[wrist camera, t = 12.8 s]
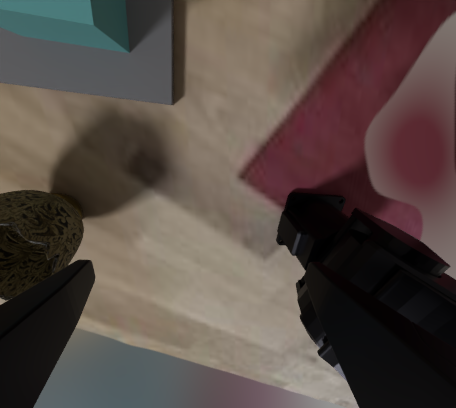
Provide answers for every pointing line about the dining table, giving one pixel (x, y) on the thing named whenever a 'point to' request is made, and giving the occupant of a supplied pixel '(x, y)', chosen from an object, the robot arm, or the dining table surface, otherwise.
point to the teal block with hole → (69, 21)
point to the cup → (36, 237)
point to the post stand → (100, 59)
